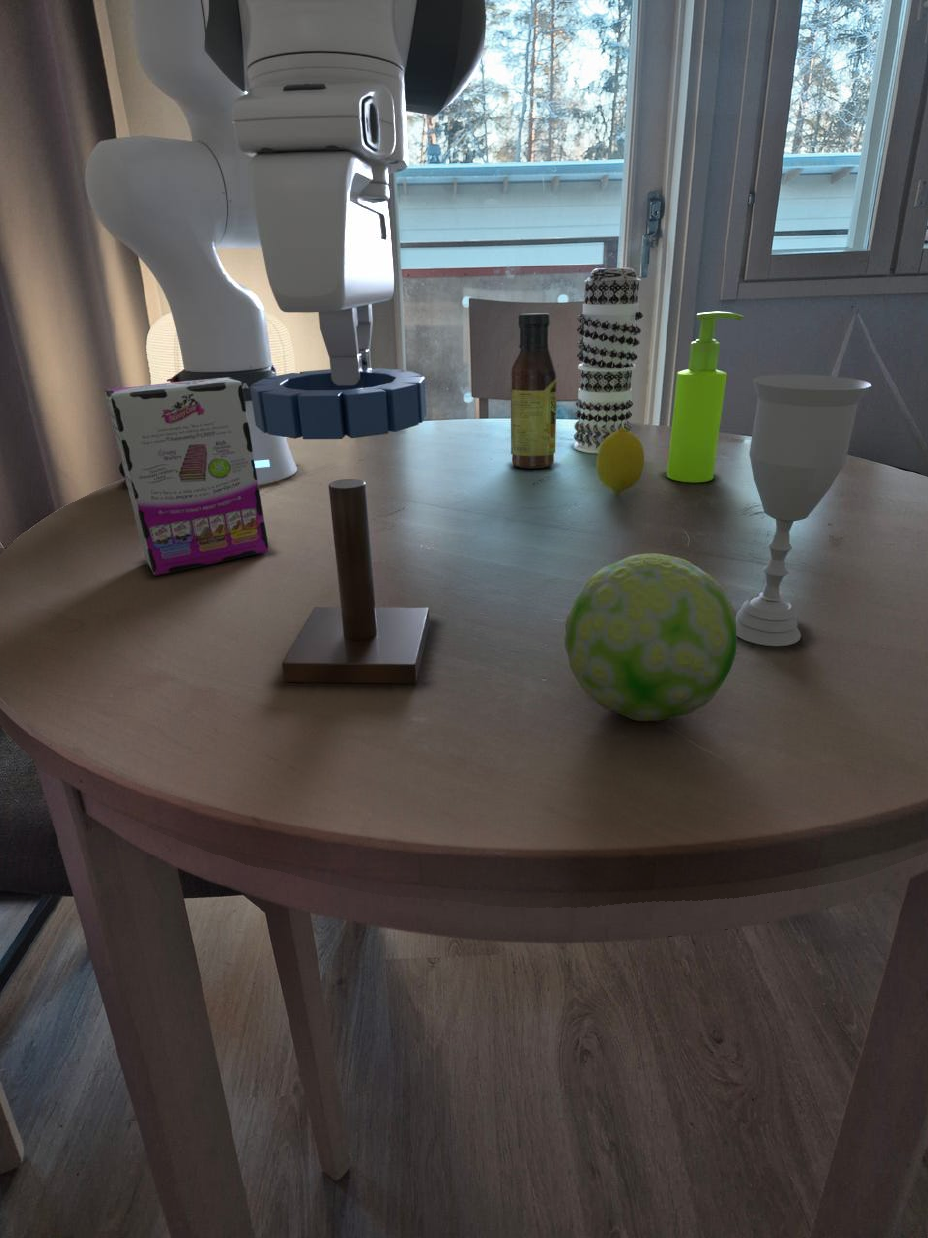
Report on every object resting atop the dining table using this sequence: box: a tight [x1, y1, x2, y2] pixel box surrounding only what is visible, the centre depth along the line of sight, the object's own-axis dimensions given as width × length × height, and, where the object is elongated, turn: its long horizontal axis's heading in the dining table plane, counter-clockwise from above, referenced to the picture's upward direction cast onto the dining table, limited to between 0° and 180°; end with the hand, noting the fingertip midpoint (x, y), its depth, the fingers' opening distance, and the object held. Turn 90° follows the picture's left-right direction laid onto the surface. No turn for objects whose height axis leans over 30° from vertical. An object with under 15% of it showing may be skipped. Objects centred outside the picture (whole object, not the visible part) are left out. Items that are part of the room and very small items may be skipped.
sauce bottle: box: [510, 312, 558, 470], centre depth 97 cm, size 7×6×20 cm
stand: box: [281, 478, 430, 685], centre depth 50 cm, size 9×9×12 cm
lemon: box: [596, 428, 645, 495], centre depth 86 cm, size 6×6×8 cm
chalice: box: [735, 374, 872, 647], centre depth 50 cm, size 7×7×18 cm
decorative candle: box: [573, 267, 644, 454], centre depth 105 cm, size 9×9×25 cm
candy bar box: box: [104, 377, 270, 576], centre depth 67 cm, size 11×5×16 cm, turn 122°
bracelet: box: [250, 367, 427, 440], centre depth 45 cm, size 10×10×2 cm
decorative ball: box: [564, 552, 738, 722], centre depth 43 cm, size 10×10×10 cm
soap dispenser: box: [666, 311, 745, 483], centre depth 90 cm, size 6×7×20 cm
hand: (352, 380), depth 48 cm, fingers closed on bracelet, 2 cm apart
